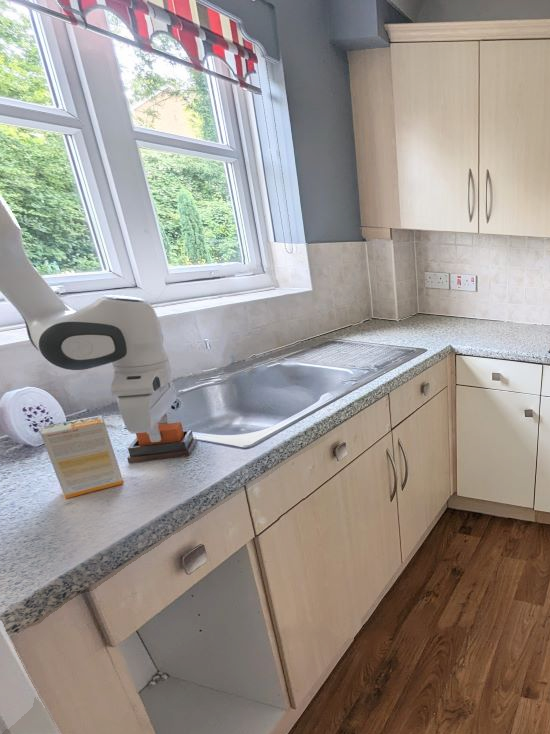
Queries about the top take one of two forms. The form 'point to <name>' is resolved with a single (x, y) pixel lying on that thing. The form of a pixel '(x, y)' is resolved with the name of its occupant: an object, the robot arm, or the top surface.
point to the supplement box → (81, 455)
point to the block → (163, 434)
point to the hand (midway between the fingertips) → (160, 435)
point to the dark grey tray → (162, 449)
